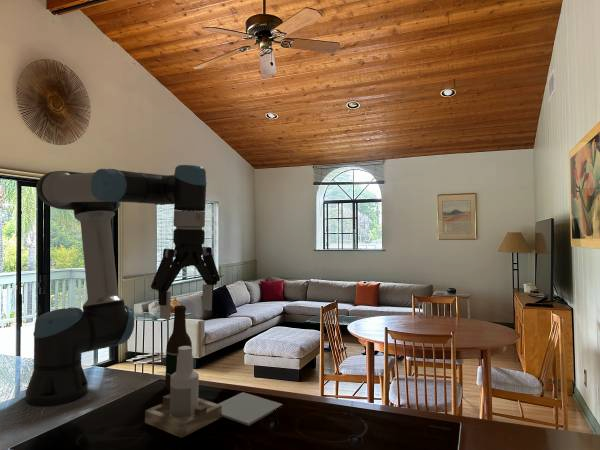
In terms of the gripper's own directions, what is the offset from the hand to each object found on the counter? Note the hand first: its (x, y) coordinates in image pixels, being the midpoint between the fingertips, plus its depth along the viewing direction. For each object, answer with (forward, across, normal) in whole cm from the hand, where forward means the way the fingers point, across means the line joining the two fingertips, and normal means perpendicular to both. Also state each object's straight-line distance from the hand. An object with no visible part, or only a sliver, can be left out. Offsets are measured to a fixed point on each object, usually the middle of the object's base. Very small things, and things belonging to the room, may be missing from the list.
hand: (187, 314), depth 109 cm
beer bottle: (+27, +14, +18) cm, 35 cm away
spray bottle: (+26, 0, 0) cm, 27 cm away
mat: (+26, +14, -8) cm, 31 cm away
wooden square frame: (+26, 0, 0) cm, 26 cm away
